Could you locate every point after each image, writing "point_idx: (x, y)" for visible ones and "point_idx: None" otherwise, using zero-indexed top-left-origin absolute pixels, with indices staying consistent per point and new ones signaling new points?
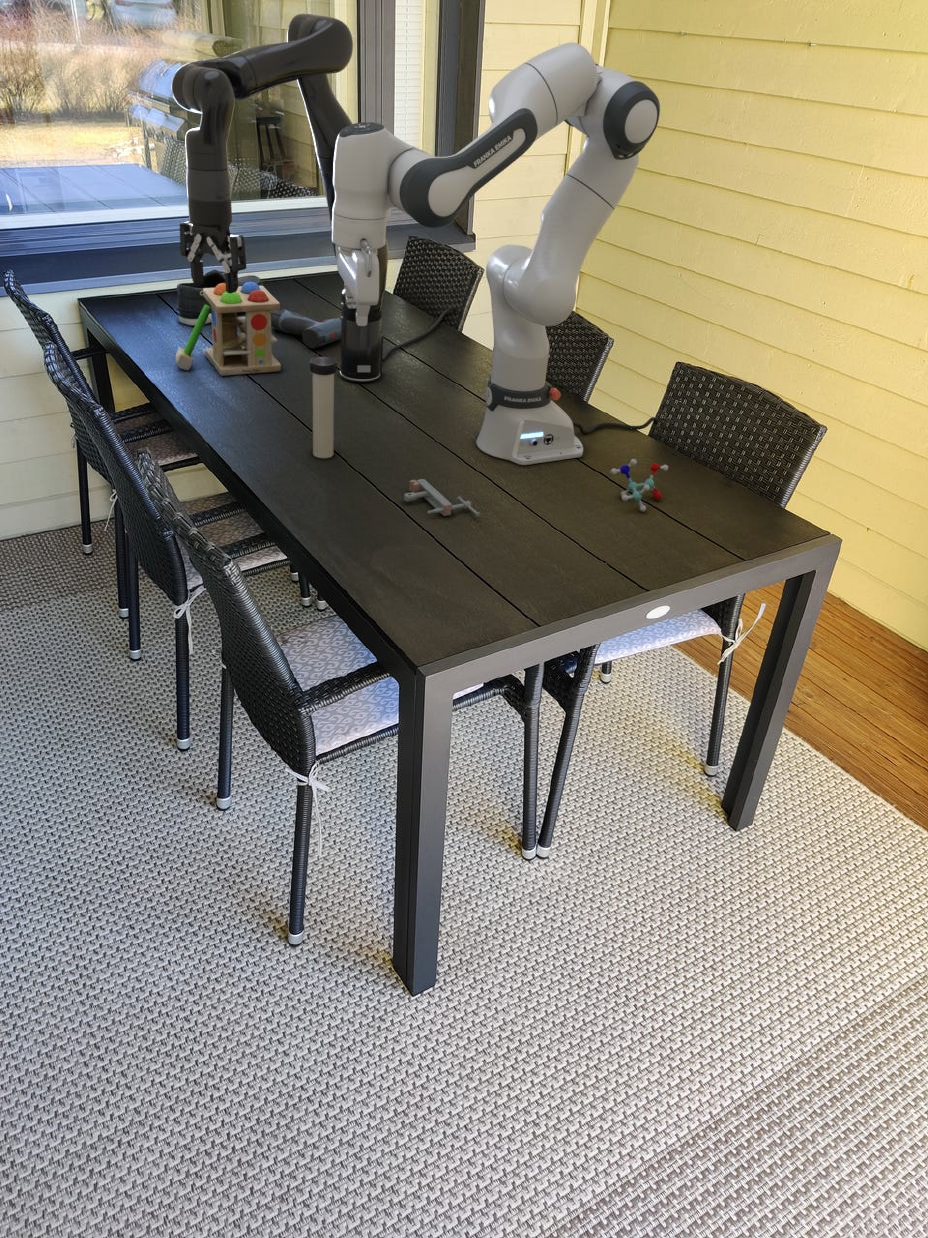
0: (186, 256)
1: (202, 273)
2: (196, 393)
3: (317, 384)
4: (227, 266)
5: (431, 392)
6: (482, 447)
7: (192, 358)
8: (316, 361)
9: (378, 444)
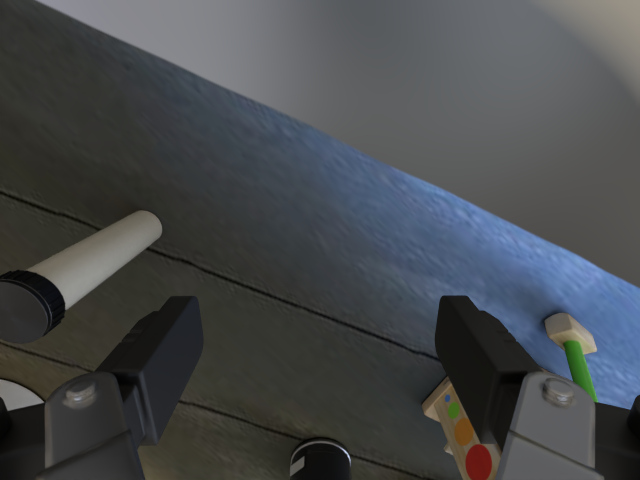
0: (620, 410)
1: (450, 372)
2: (471, 262)
3: (42, 262)
4: (61, 415)
5: (210, 475)
6: (8, 386)
7: (553, 340)
8: (17, 299)
9: (120, 308)
